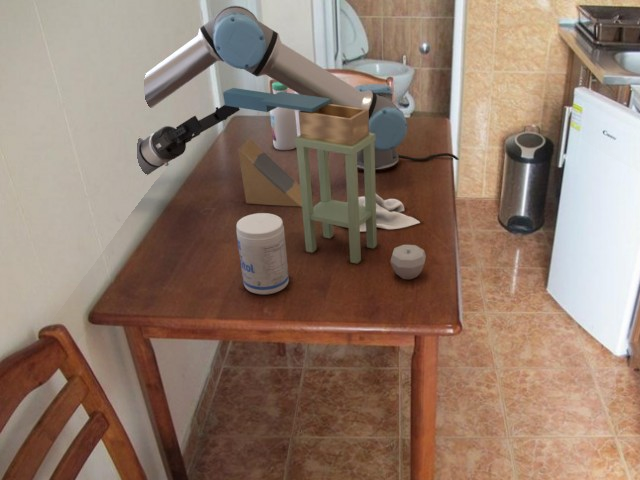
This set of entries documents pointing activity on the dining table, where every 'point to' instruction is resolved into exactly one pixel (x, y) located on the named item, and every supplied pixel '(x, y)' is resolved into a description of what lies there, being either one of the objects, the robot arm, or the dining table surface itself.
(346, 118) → the tea box
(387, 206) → the cloth
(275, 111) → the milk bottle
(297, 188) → the sandwich container
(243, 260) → the supplement tub
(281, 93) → the lid
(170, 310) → the dining table surface
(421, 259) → the apple
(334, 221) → the stand
